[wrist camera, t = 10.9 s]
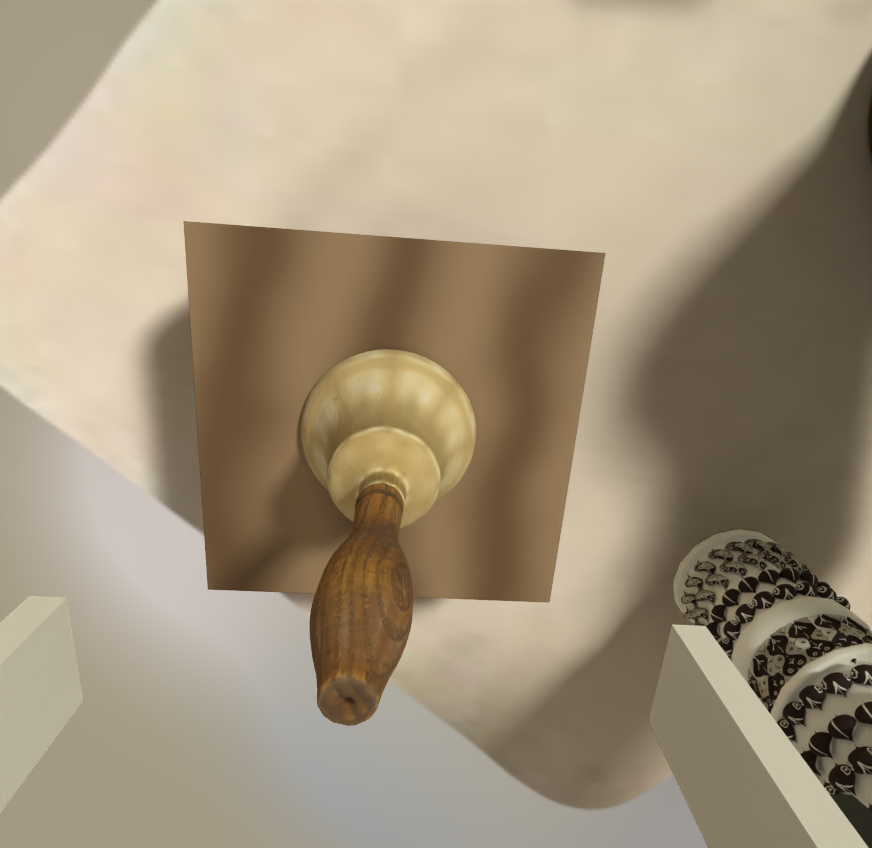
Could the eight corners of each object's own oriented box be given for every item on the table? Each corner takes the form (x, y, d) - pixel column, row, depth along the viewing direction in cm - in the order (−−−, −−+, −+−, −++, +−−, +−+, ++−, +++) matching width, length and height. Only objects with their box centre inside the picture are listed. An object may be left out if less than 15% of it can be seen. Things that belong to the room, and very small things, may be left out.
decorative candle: (644, 613, 41) (957, 1119, 17) (706, 507, 39) (1173, 934, 15) (749, 646, 43) (1171, 1159, 19) (815, 546, 40) (1403, 995, 16)
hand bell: (432, 535, 28) (454, 877, 13) (277, 475, 27) (101, 780, 12) (505, 391, 26) (633, 605, 11) (339, 318, 25) (222, 446, 10)
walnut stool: (555, 249, 33) (605, 253, 24) (519, 521, 38) (549, 602, 30) (245, 226, 32) (183, 221, 23) (255, 509, 37) (207, 589, 29)
